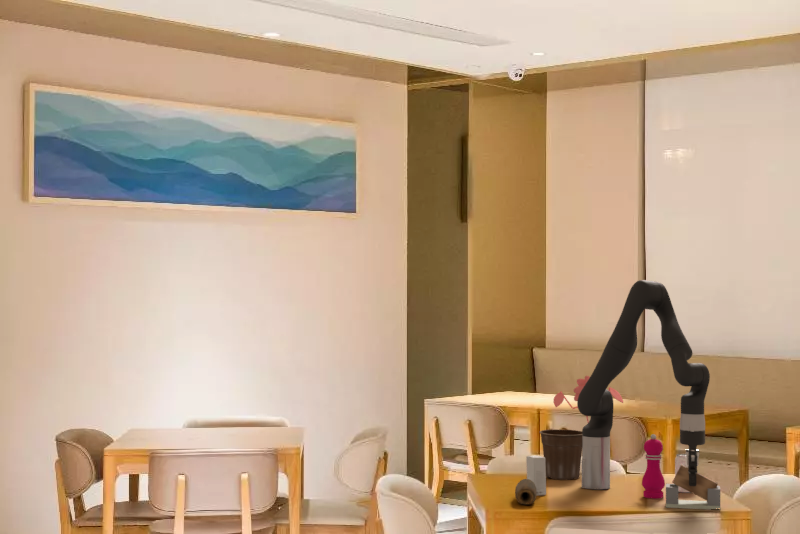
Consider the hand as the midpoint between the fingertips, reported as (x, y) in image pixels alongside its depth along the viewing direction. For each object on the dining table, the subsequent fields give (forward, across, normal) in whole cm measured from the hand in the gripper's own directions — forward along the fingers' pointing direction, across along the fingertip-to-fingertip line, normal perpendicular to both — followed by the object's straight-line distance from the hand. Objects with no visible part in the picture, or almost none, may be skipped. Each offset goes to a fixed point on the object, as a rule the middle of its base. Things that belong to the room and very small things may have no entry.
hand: (692, 484), depth 359 cm
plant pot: (+7, -48, -44) cm, 65 cm away
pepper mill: (+7, -14, -12) cm, 20 cm away
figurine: (+7, -70, -36) cm, 79 cm away
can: (+7, -28, -2) cm, 29 cm away
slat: (+2, 0, -1) cm, 2 cm away
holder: (+6, 0, 0) cm, 6 cm away
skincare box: (+7, -10, -49) cm, 50 cm away
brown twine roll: (+7, +6, -50) cm, 51 cm away
